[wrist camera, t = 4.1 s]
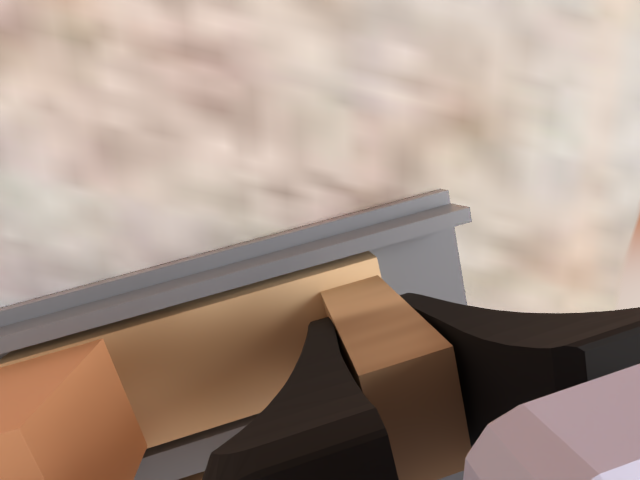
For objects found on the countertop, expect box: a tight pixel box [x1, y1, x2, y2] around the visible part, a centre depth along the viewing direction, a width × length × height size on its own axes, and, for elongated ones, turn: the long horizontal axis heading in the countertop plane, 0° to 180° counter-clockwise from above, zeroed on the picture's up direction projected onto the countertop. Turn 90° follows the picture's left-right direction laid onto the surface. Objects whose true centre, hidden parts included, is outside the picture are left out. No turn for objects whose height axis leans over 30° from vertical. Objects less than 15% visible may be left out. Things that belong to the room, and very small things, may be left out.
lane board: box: [0, 189, 472, 480], centre depth 13 cm, size 12×22×2 cm, turn 104°
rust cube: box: [0, 339, 148, 480], centre depth 10 cm, size 4×4×4 cm
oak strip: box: [0, 251, 471, 480], centre depth 10 cm, size 4×12×6 cm, turn 104°
